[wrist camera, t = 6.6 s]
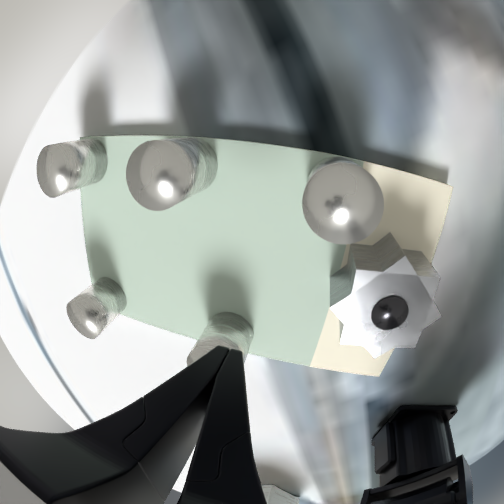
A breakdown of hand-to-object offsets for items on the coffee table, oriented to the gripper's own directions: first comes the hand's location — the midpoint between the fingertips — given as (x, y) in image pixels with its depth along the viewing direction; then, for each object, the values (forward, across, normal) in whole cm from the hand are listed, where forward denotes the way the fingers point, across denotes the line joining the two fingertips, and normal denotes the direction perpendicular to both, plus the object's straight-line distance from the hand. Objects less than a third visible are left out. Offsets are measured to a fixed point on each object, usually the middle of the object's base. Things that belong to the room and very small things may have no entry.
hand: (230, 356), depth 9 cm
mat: (+8, +2, 0) cm, 8 cm away
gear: (+7, -6, 0) cm, 9 cm away
